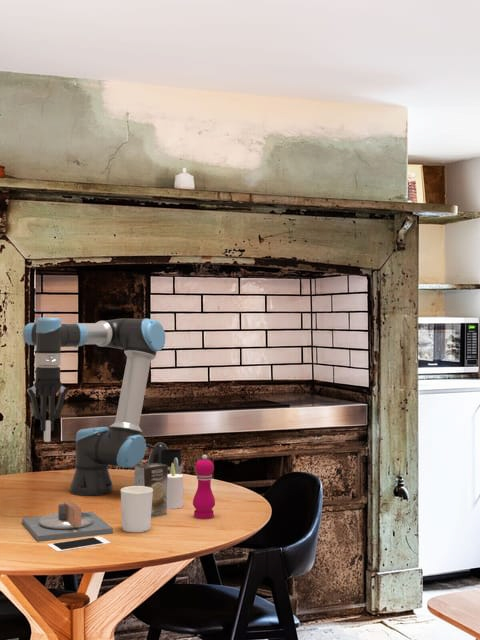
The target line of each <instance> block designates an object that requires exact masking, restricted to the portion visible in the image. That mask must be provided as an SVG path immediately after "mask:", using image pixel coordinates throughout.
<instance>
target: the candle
mask: <svg viewBox="0 0 480 640" xmlns="http://www.w3.org/2000/svg"><path fill="white" fill-rule="evenodd" d="M183 507H184V475H183V474H175V468H174V464H173V463H172V464H171V474H168V478H167V510H168V509H169V510H170V509H171V510H178V508H179V509H182V508H183Z"/></svg>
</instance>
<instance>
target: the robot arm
mask: <svg viewBox="0 0 480 640" xmlns="http://www.w3.org/2000/svg"><path fill="white" fill-rule="evenodd" d="M165 332H166V331H165V329H164V327H163V325H162V323H161V322H160V321H158V320H157V319H153V318H152V319H151V318H148V317H147V318H126V317H125V318H123V317H122V318H115V319H108V320H99V321H97V322H95V323H94V322H93V323H92V322H91V323H90V322H89V323H87V322H85V323H84V322H81V323H80V322H76V323H75V322H72V323H71V322H70V323H69V322H62V319H61V318H59V317H39V318H38V319H37V321H36V322H30V323H26V325H25V326H24V328H23V331H22V338H23V340H24V342H25V343H26V344H27V345H30V346H31V345H32V346H36V349H35V350H36V352H35V353H36V354H35V355H36V356H35V365H36V368H35V381H34V383H33V386H32V387H30V388H27V390H26V392H27V393H28V395H29V397H30V401H31V407H32V410H33V414H34V418H35V419H36V420H40V430H41V431H42V432H43V442H44V443H45V442H46V443H49V442H51V432H52V431H53V432H54V429H55V420H57V419H59V418H60V417H61V414H62V411H63V410H62V409H63V406H64V402H65V398H66V396H67V394H68V392H69V391H70V390H69V388H67V387H65V386H63V384H62V382H61V368H60V365H61V351H62V349H61V348H71V347H74V348H77V347H82V346H84V345H96V346H97V347H103V348H104V347H105V348H113V349H119V350H123V351H124V355H126V363H125V368H124V374H123V379H122V385H121V390H120V394H119V399H118V404H117V405H118V406H117V412H116V416H115V421H114V423H112V424H111V425H109V427H108V426H98V427H88V428H82V429H79V430H78V431H77V432H76V436H75V471H74V474H73V477H72V481H71V483H70V486H69V487H70V489H69V490H70V491H69V492H70V493H71V494H73V495H78V496H102V495H108V494H110V493H112V492H113V483H112V482H113V481H112V479H111V475H110V472H109V466H114V467H120V468H135V465H139V463H141V462H142V460H143V459H144V457H145V455H146V451H147V443H146V439H145V438H144V436H143V429H141V427H140V422H141V416H142V410H143V405H144V399H145V394H146V389H147V383H148V378H149V372H150V367H151V363H152V361H153V360H154V359H156V356H157V352H160V351H162V349H163V348H164V347H165V344H166V333H165ZM37 392H38V394H39V395H40V408H39V405H38V402H37V401H38V400H37V397H36V393H37ZM58 392H59V396H58V400H57V402H56V394H57V393H58ZM47 399H48V419H47ZM55 402H56V403H57V404H56V403H55ZM55 404H56V407H55ZM39 409H40V410H39Z"/></svg>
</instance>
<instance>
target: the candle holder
mask: <svg viewBox="0 0 480 640" xmlns="http://www.w3.org/2000/svg"><path fill="white" fill-rule="evenodd" d="M152 496H153V489H152V488H150V487H145V486H134V485H132V486H125V487H122V488H121V489H120V503H121V508H120V509H121V526H122V527H121V529H122V530H123V531H124V532H127V533H144V531H145V532H148V531H149V530H150V529H151V519H152V517H151V510H152Z"/></svg>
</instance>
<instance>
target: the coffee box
mask: <svg viewBox="0 0 480 640" xmlns="http://www.w3.org/2000/svg"><path fill="white" fill-rule="evenodd" d="M167 478H168V465H165V464H160V463H151V464H148V463H146V464H138V465H135V467H134V482H133V483H134V485H133V486H145V487H150V488H152V489H153V496H152V510H151V518H154V517H158V516H157V515H159V516H161V515H162V516H163V514H164V515H167V510H168V508H167Z"/></svg>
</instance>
